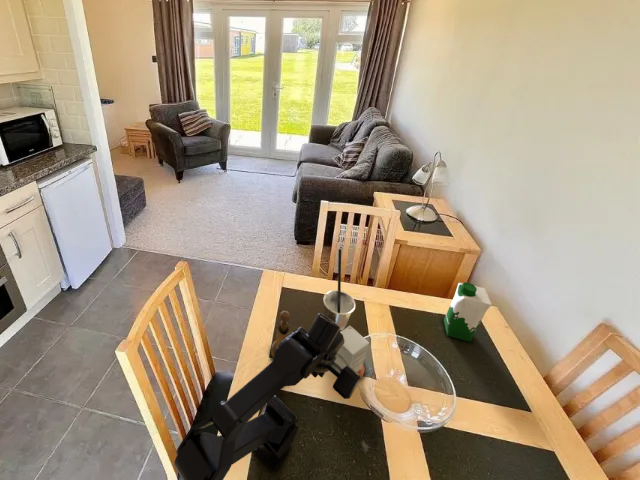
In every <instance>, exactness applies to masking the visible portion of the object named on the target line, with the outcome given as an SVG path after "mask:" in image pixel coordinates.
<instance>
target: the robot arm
mask: <svg viewBox="0 0 640 480" xmlns="http://www.w3.org/2000/svg"><path fill="white" fill-rule="evenodd" d="M340 328H341V327H340V326H339V325H338V324H337V323H335V322H334V321H333V320H331V319H330V318H328V317H327V316H325V315H324V313H322V312H318V313H317V315H316V317H315V318H314V320H313V322H312V323H311V325H310V327H309V329H306V327H304V326H299V327H297V329H296V330H295V331H294V332H293V331H291V332H290V335H288V336H287V337H286V338H285V339H284V340H283V341H282V342H281V343H280V344H279V346H278V348H277V349H276V350H275V353H274V357H272V360H271V362H270V363H269V364H268V365H267V366H265V367H264V368H262V370H260V371H259V372H258V373H257V374H256V375H255V376H253V377H252V378H251V380H249V381H248V382H247V383H246V384H245V385H243V386H242V387H241V388H240V389H239V390H238V391H237V392H235V393H234V394H233V395H232V396H231V397H229V398H228V399H227V400H221V401H220V402H218V403H217V405H215V407H214V408H213V409H212V410H211V412H210V414H209V415H208V417H207V418H206V419H204V420H201V421H200V422H198V423H196V424H194V425H192V426H191V427H190V428H189V430H188V432H187V433H186V435H185V436H184V438H183V439H182V441H181V442H180V444H179V445H178V447H177V449H176V452H175V453H176V456H175V459H174V462H173V466H174V467H175V469H176V472H177V473H178V475H179V476H180V479H181V480H224V479H225V477H226V476H227V474H228V473H229V471H230V469H231V468H232V466H233V465H234V464H236V463H237V462H239V461H240V460H242V459H243V458H245V457H246V456H248V455H249V454H251V453H253V452H255V453H256V454H257V455H258V457H259V458H260V459H261V460H262V461H263V462H264V463H265V464H266V465H267V466H268V467H269V469H271V470H272V471H275V470H276V469H277V467H278V466H279V464H280V463H281V461H282V460H283V459H284V457H285V455H286V454H287V453H288V451H289V449H290V446H291V445H292V444H293V441H294V440H295V437H296V434H297V432H298V431H299V425H298V424H297V423H298V422H299V418H298V417H297V416H296V414H294V413H293V411H292V410H291V409H289V407H288V406H287V405H286V404H285V403H284V402H283V401H282V400H281V399H280V398H279V397H278V396H277V394H278V393H279V392H280V391H281V390H282V389H283V388H285V387H294V386H296V385H298V384H299V383H300V382H301V381H302V380H306V379H308V378H309V377H310V375H311V376H312V377H313V378H317V377H320V378H323V377H324V376H325V374H326V373H327V372H330V373H331V374H332V375H333V376H335V377H336V379H335V381H334V383H333V385H332V389H333V390H334V391H335V392H336V393H337V394H338V395H339V396H340V397H341V398H343V400H348V399H351V397H352V395H353V394H354V392H355V390H356V389H357V387H358V385H359V383H360V382H361V380H362V377H360V375H359V374H358V373H357V372H356V371H354V370H353V369H352V368H351V367H350V366H348V365H346V366H345V367H344V368H343V369H342V368H341V367H340V366H339V365H338V364H337V363H335V362H334V361H335V360H336V358H337V357H336V354H337V352H338V351H339V349H340V348H341V347H342V345H343V344H344V337H343V335H342V334H341V333H340V332H339V330H340ZM332 365H333V366H332ZM334 366H335V368H336V369H337V370H339V371H340V372H338V371H337V370H336V369H335V368H334ZM257 413H258V415H257V416H255V415H256V414H257ZM254 416H255V417H254ZM211 425H214V427H215V428H216V430H217V431H218V432H219V434H220V435H217V434H214V433H210V432H207V431H205V432H203V431H204V429H205V428H207V427H209V426H211Z"/></svg>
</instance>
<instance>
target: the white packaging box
mask: <svg viewBox="0 0 640 480" xmlns="http://www.w3.org/2000/svg"><path fill="white" fill-rule="evenodd" d="M340 333H341V334H342V335H343V337H344V344H343V345H342V347H341V348H340V349H339V351H338V352H337V354H336V357H337V358H336V360H335V361H334V362H335V363H337V364H338V365H339V366H340V367H341V368H342V369H343V368H344V367H345V366H346V365H348V366H350V367H351V368H352V369H353V370H354V371H356V372H358V371H359V370H361V367H362V364H363V365H364V361H365V359H366V355H367V353H368V352H367V351H368V349H369V346H370V342H369V341H368V340H367V339H366V338H365V337H364V336H362V335H361V333H360V332H358V331H357V330H356V329H355V328H354V327H352V325H347V326H346V328H345V329H344V330H343V331H341V332H340ZM332 366H333V365H332ZM334 368H335V366H334ZM335 369H336V368H335ZM336 370H337V369H336ZM337 371H338V372H340V371H339V370H337Z"/></svg>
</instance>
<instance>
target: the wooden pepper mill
mask: <svg viewBox="0 0 640 480" xmlns="http://www.w3.org/2000/svg"><path fill="white" fill-rule="evenodd" d="M279 319H280V321H281V322H280V324H279V325H278V326H277V327H276V337H275V340H274V341H273V342H272V344H271V347H270V354H271V357H272V358H273V357H274V353H275V350H276V349H277V348H278V346H279V344H280V343H281V342H282V341H283V340H284V339H285V338H286V337H287V336H288V335H290V334H291V328H290V326H289V323H288V322H289V321H290V319H291V314H290V312H289V311H287V310H282V311H281V312H280V313H279Z"/></svg>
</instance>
